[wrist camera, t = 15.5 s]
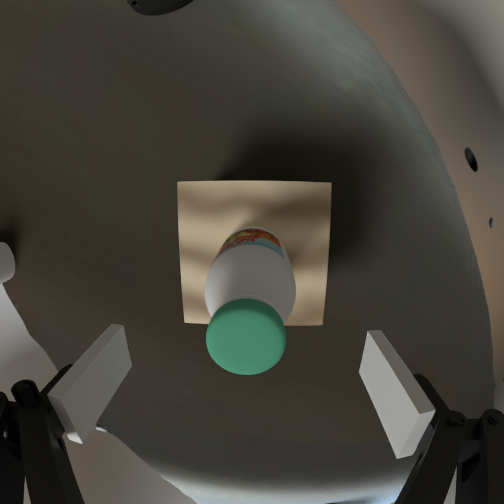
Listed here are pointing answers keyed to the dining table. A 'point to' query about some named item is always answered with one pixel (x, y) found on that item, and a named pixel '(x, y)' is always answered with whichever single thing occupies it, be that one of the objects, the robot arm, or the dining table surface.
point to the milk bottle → (249, 301)
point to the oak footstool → (264, 215)
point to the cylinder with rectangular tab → (6, 263)
